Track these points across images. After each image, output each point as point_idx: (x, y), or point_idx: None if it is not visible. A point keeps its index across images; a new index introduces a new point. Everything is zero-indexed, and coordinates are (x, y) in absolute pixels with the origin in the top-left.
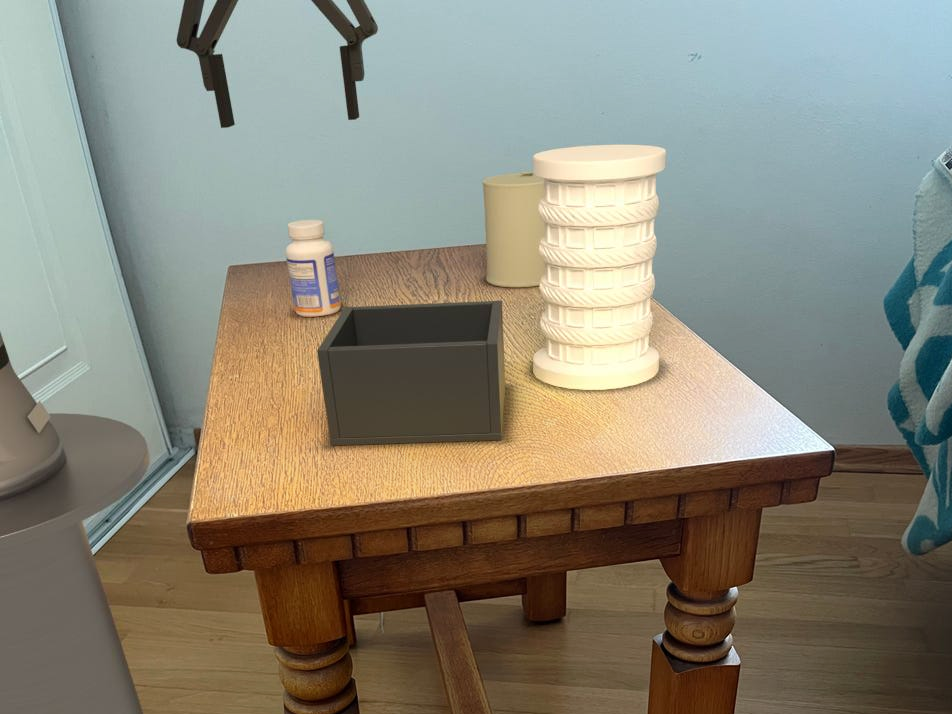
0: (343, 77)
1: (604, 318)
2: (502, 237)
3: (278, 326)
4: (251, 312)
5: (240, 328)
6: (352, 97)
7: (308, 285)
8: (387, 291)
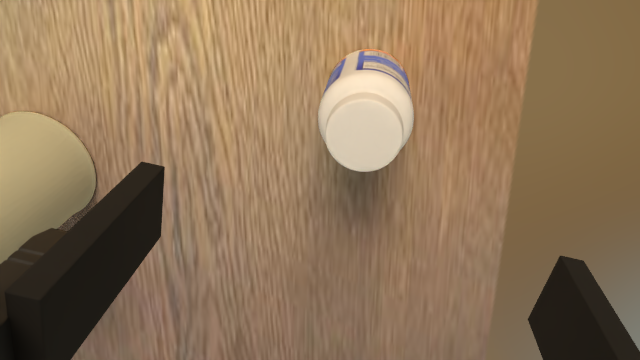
0: (104, 229)
1: None
2: (17, 158)
3: (443, 11)
4: (482, 127)
5: (512, 23)
6: (112, 192)
7: (378, 60)
8: (251, 174)
